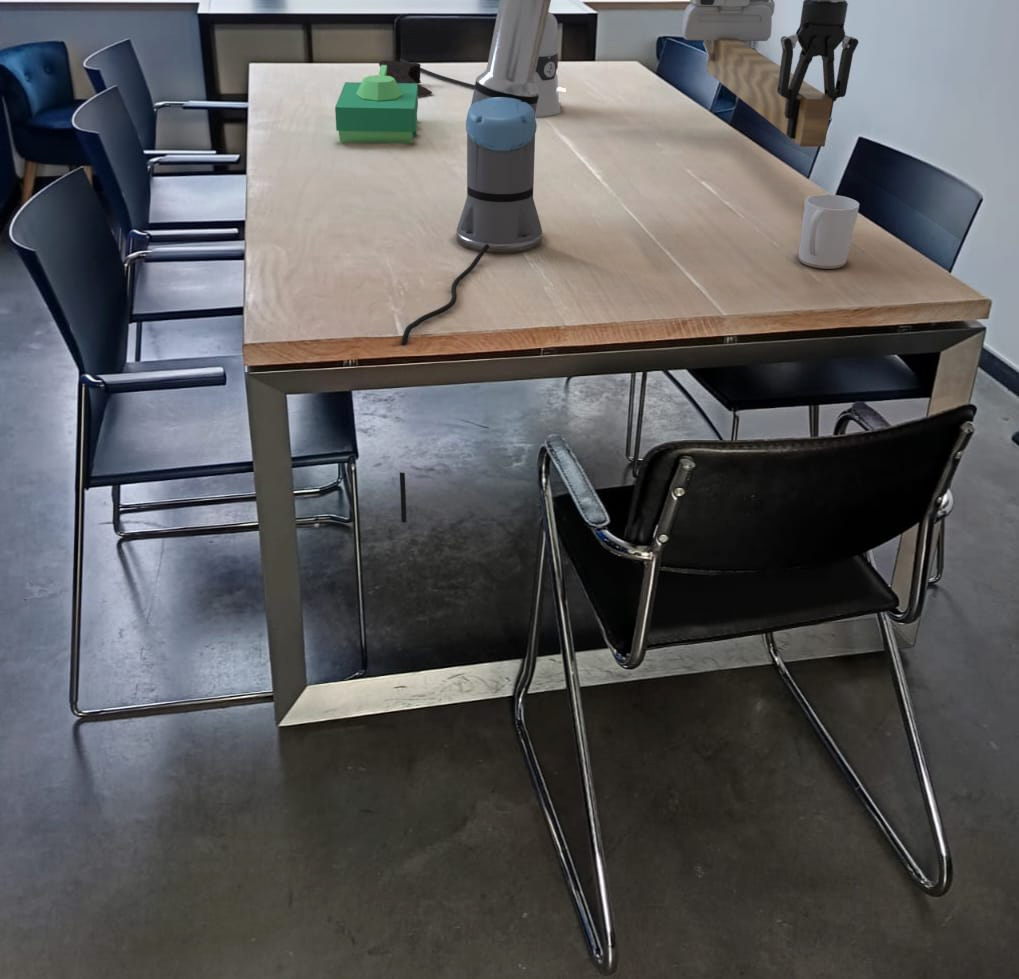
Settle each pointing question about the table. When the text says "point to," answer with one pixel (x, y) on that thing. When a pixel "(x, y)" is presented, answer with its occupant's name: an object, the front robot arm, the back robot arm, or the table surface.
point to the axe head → (405, 74)
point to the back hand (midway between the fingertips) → (722, 61)
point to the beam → (769, 90)
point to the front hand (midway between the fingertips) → (804, 136)
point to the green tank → (377, 110)
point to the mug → (827, 230)
